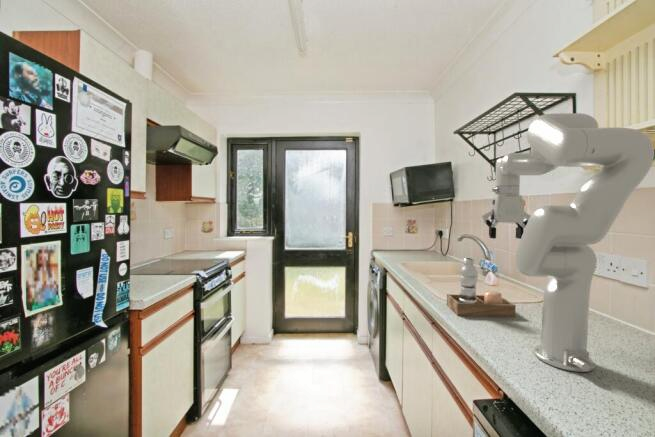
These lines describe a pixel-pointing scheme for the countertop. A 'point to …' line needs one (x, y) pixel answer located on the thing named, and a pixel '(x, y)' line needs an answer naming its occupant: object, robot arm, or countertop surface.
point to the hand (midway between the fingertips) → (505, 238)
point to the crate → (480, 307)
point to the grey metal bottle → (468, 282)
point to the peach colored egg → (492, 297)
